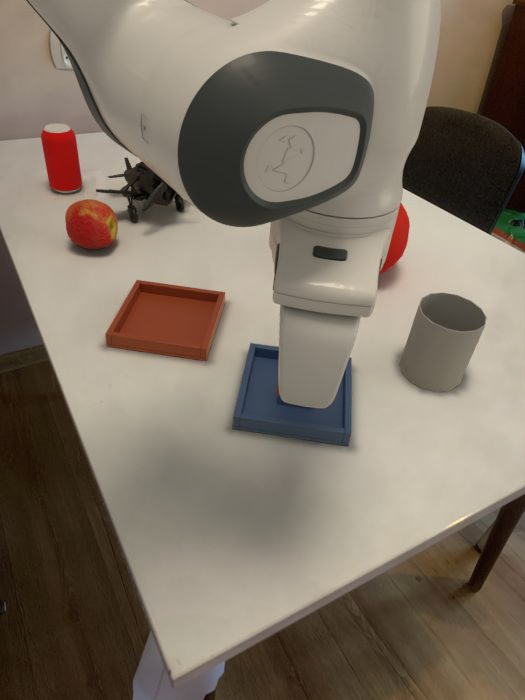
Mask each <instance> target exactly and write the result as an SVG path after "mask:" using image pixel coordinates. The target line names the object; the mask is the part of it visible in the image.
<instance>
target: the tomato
mask: <svg viewBox="0 0 525 700" xmlns="http://www.w3.org/2000/svg"><path fill="white" fill-rule="evenodd" d="M410 227H411V224H410V218H409V215H408V212H407V210H406V209H405V206H404V205H403V203H402V202H401V203H400V207H399V212H398V215H397V219H396V223H395V227H394V230H393V234H392V238H391V241H390V245H389V249H388V253H387V257H386V260H385V262H384V264H383V267H382V269H381V271H380V275H382V274H384V273H385V272H388V271H389V270H390V269H391V268H393V267H394V266H395V265H396V264H397V263H398V262H399V261H400V259H401V258H402V257H403V256H404V253H405V251H406V248H407V245H408V241H409V234H410Z"/></svg>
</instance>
